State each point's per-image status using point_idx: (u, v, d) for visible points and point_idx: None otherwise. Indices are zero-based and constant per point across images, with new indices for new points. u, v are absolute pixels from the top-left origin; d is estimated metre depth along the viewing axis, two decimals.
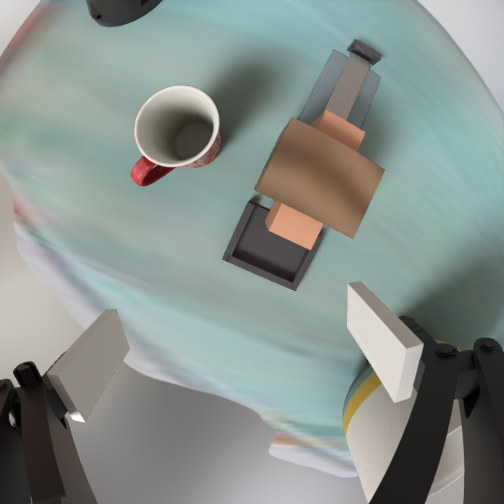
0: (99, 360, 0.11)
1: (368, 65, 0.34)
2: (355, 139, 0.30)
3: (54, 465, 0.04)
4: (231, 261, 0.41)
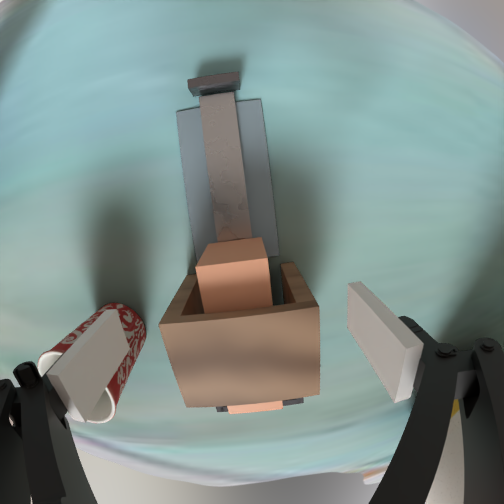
0: (99, 360, 0.11)
1: (232, 98, 0.25)
2: (258, 278, 0.21)
3: (54, 465, 0.04)
4: (226, 410, 0.34)
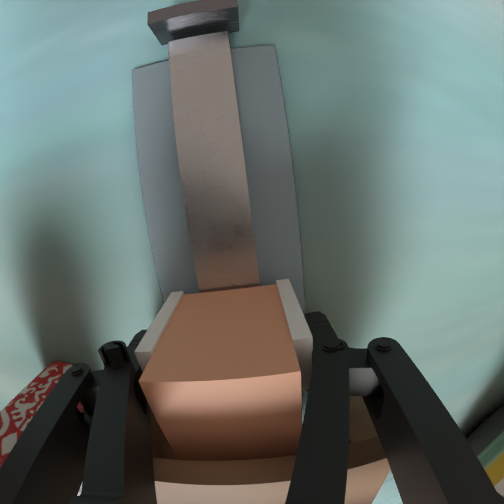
0: None
1: (225, 40, 0.13)
2: (277, 406, 0.09)
3: (120, 460, 0.05)
4: None
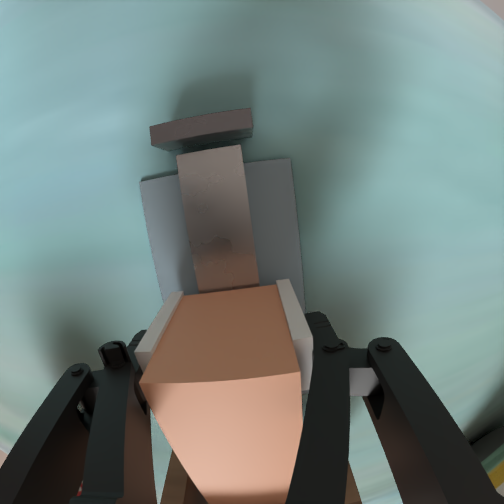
0: None
1: (238, 158, 0.15)
2: (277, 406, 0.09)
3: (120, 460, 0.05)
4: None
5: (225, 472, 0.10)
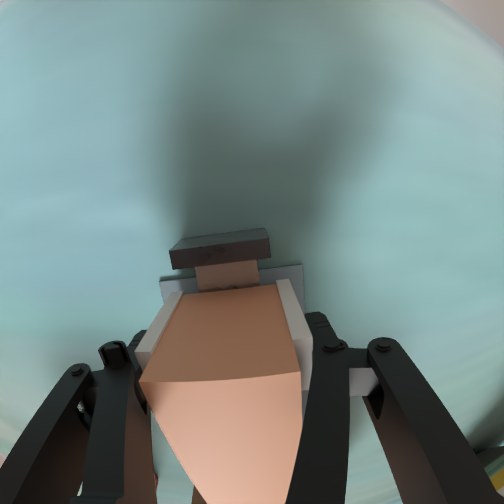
0: None
1: (254, 271, 0.16)
2: (277, 406, 0.09)
3: (120, 460, 0.05)
4: None
5: (224, 472, 0.10)
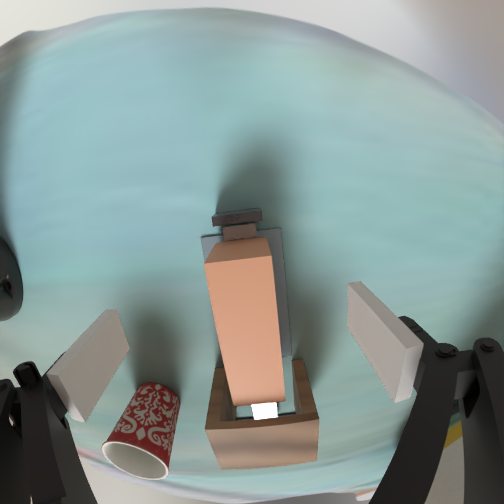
0: (99, 360, 0.11)
1: (254, 230, 0.30)
2: (263, 275, 0.23)
3: (54, 465, 0.04)
4: None
5: (237, 327, 0.24)
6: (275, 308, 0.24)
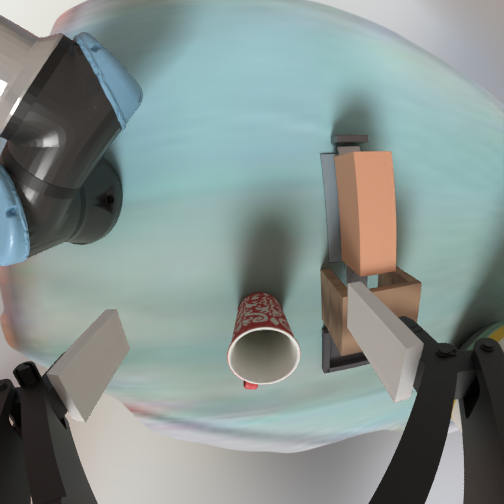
0: (99, 360, 0.11)
1: (358, 150, 0.39)
2: (387, 163, 0.31)
3: (54, 465, 0.04)
4: (331, 371, 0.47)
5: (371, 200, 0.32)
6: (393, 187, 0.32)
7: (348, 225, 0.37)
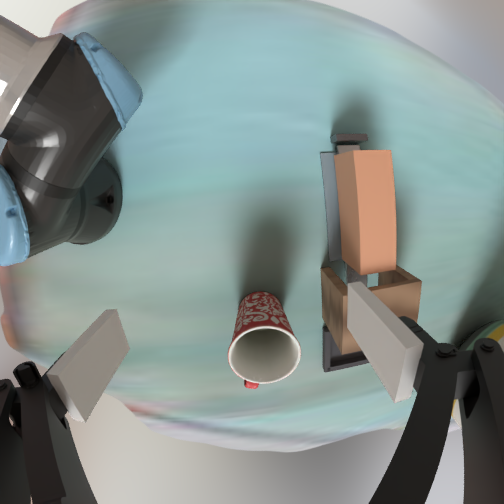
0: (99, 360, 0.11)
1: (358, 149, 0.39)
2: (386, 161, 0.31)
3: (54, 465, 0.04)
4: (331, 369, 0.47)
5: (371, 198, 0.32)
6: (393, 185, 0.32)
7: (348, 223, 0.37)
